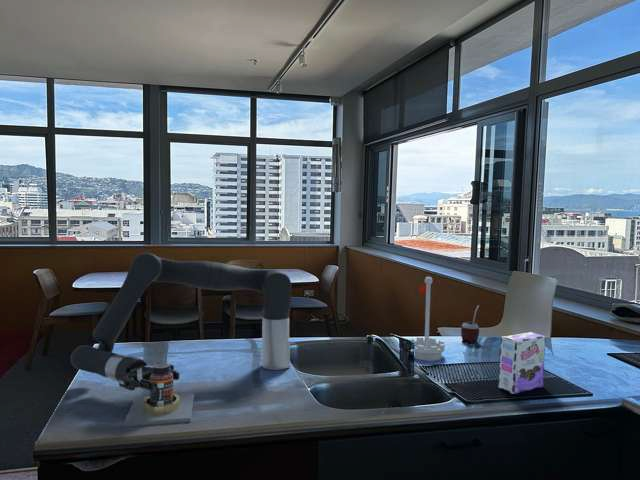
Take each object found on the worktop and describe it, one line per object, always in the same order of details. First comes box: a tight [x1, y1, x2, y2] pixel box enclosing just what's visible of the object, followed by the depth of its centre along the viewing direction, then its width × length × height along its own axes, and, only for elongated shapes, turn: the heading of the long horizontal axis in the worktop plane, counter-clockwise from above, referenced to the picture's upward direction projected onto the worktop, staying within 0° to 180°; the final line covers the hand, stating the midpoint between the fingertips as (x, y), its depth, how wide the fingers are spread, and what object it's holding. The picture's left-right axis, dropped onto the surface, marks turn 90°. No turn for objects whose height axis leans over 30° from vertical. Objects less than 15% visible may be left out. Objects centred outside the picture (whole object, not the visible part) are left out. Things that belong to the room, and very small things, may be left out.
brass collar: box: [143, 393, 180, 415], centre depth 125 cm, size 9×9×2 cm
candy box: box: [498, 331, 546, 395], centre depth 144 cm, size 14×6×16 cm, turn 117°
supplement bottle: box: [149, 362, 174, 406], centre depth 125 cm, size 6×6×11 cm
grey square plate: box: [123, 392, 195, 428], centre depth 125 cm, size 16×16×1 cm
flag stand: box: [409, 276, 446, 362], centre depth 174 cm, size 13×13×30 cm
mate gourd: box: [460, 304, 480, 345], centre depth 193 cm, size 8×8×15 cm
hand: (166, 381), depth 123 cm, fingers open, 8 cm apart
